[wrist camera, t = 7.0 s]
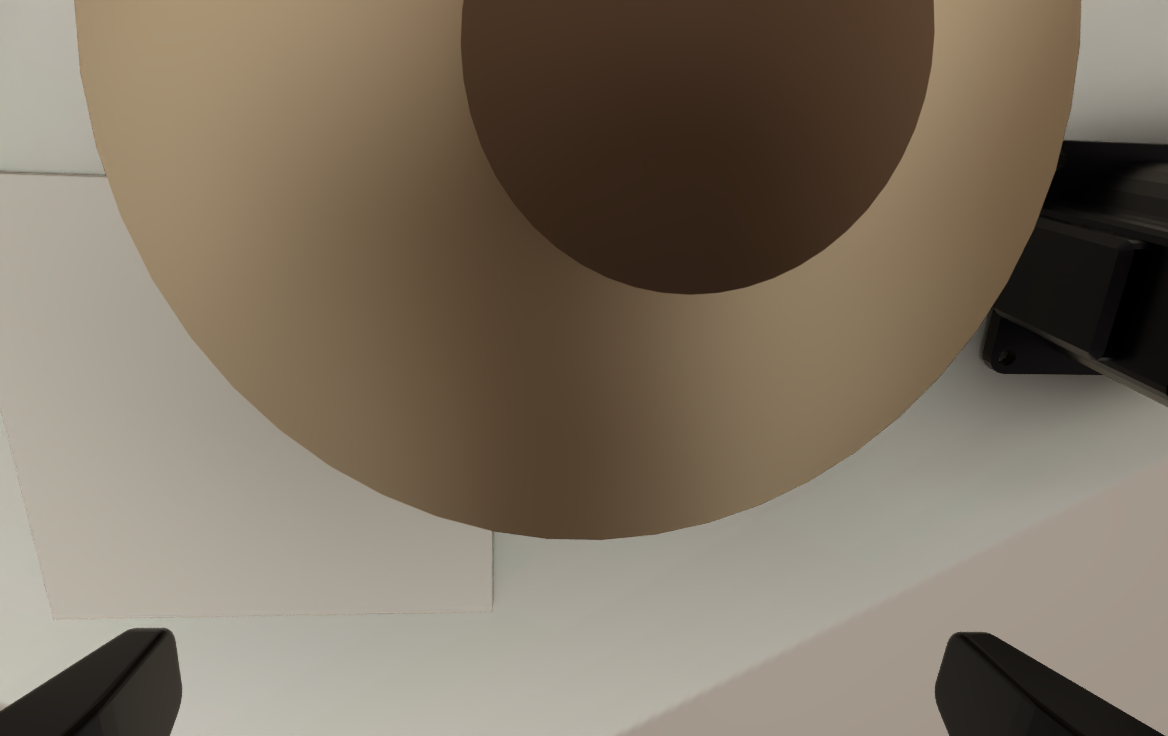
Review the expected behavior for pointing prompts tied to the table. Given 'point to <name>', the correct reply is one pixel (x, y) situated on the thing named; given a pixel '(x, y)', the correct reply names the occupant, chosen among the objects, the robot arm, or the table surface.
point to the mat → (179, 451)
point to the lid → (580, 228)
